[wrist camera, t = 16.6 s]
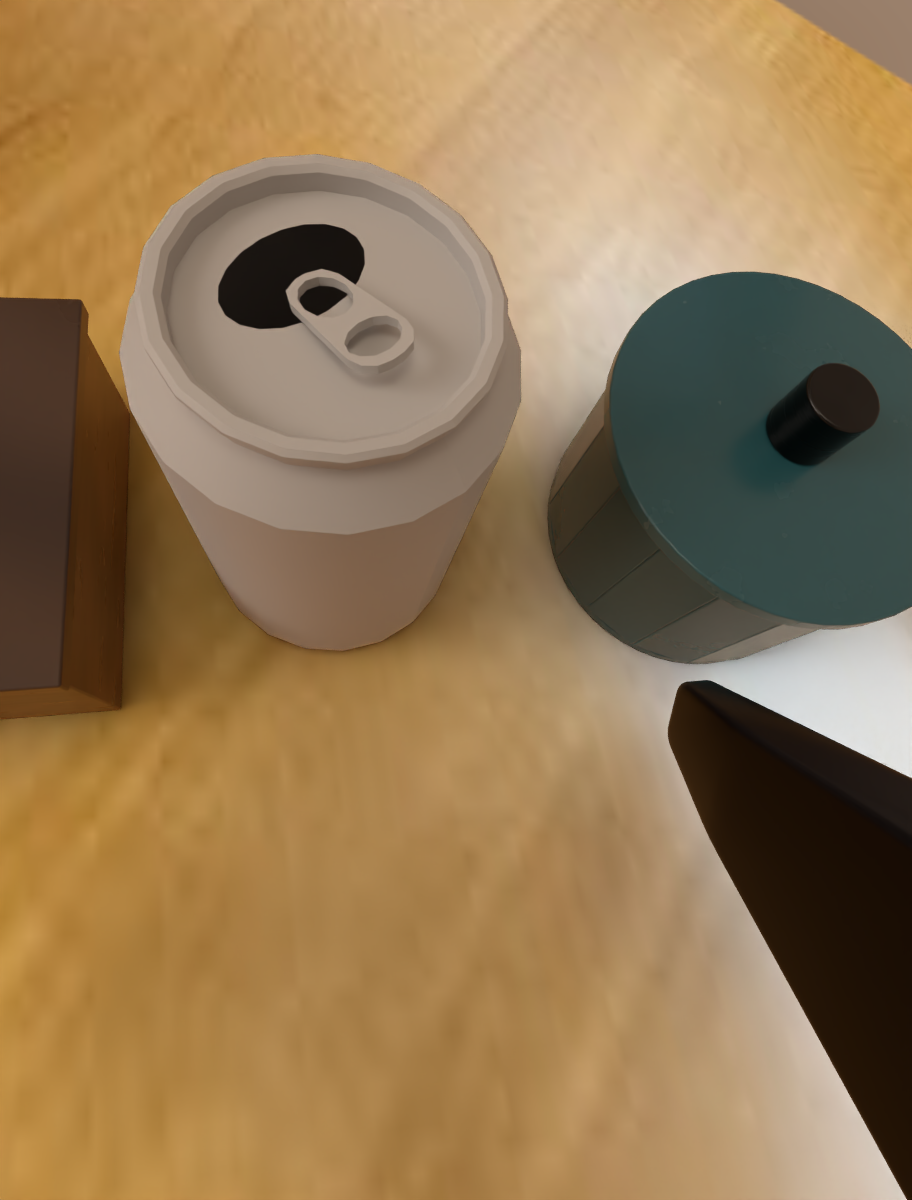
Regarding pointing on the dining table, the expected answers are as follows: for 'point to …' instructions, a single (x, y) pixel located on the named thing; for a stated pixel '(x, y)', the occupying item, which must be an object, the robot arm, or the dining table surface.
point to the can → (322, 388)
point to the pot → (638, 568)
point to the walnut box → (59, 514)
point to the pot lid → (770, 447)
